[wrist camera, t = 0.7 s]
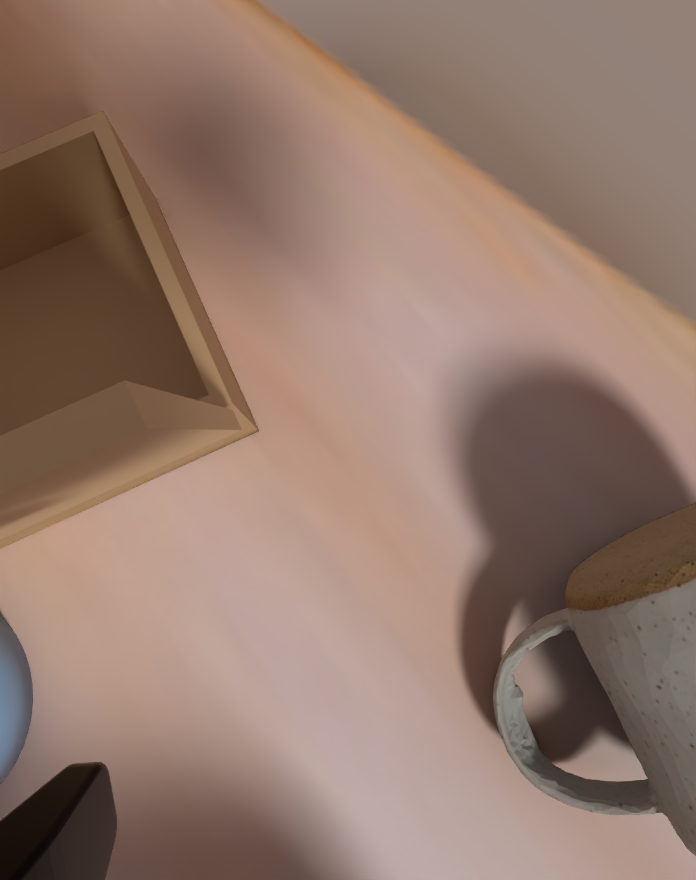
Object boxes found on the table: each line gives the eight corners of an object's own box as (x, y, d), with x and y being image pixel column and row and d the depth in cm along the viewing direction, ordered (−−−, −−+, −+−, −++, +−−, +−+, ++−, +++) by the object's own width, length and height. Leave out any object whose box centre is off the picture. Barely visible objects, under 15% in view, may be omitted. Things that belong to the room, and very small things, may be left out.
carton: (258, 430, 23) (232, 402, 18) (-53, 572, 22) (-171, 584, 17) (155, 197, 24) (102, 110, 19) (-141, 324, 23) (-275, 269, 18)
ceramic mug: (699, 480, 22) (872, 456, 15) (832, 693, 21) (1094, 785, 14) (438, 625, 22) (477, 678, 14) (561, 850, 21) (674, 1038, 13)
